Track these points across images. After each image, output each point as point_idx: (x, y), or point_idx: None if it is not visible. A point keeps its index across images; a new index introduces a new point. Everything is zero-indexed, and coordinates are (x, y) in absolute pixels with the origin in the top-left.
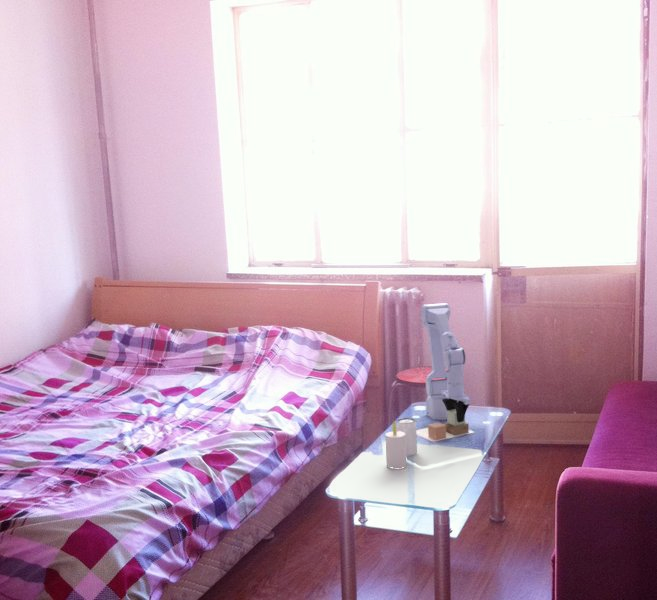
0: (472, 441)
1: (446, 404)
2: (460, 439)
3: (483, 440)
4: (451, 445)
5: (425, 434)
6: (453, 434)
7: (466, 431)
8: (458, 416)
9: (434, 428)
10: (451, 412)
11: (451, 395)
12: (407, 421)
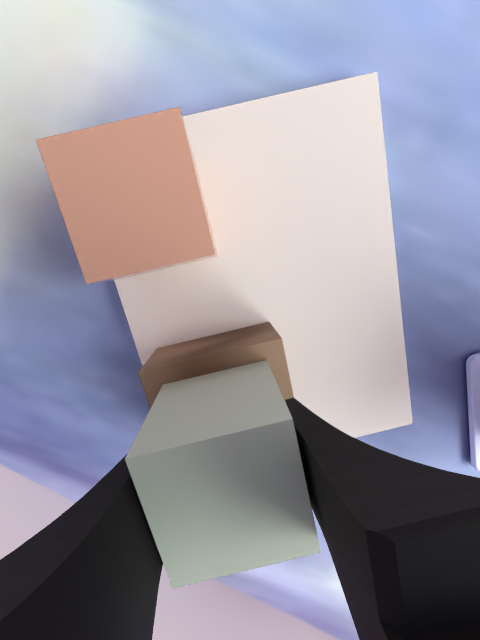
0: (73, 414)
1: (344, 486)
2: (131, 365)
3: (73, 472)
4: (31, 269)
5: (257, 160)
6: (171, 345)
7: None
8: (112, 470)
9: (62, 140)
10: (192, 442)
11: None
12: None
